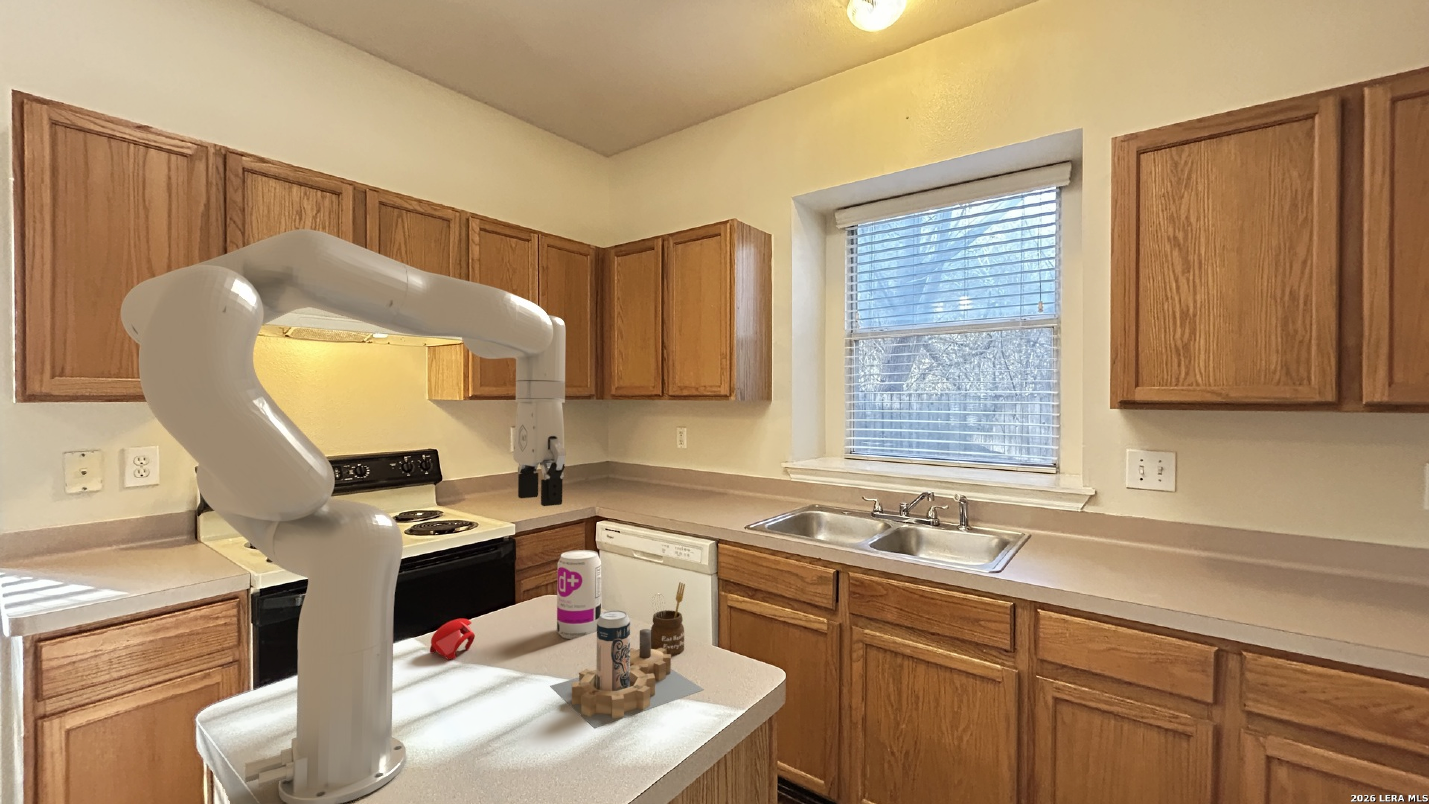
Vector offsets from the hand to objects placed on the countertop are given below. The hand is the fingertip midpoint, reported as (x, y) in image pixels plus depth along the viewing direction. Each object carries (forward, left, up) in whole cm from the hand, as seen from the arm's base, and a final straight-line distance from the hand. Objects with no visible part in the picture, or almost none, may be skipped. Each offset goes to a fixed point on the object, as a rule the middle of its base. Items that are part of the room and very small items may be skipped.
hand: (539, 501), depth 94 cm
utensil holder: (+22, -4, -28) cm, 36 cm away
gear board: (+9, -12, -28) cm, 32 cm away
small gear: (+14, -9, -27) cm, 32 cm away
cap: (-8, +19, -29) cm, 35 cm away
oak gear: (+6, -14, -27) cm, 31 cm away
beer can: (+6, -14, -28) cm, 31 cm away
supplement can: (+14, +15, -28) cm, 35 cm away
